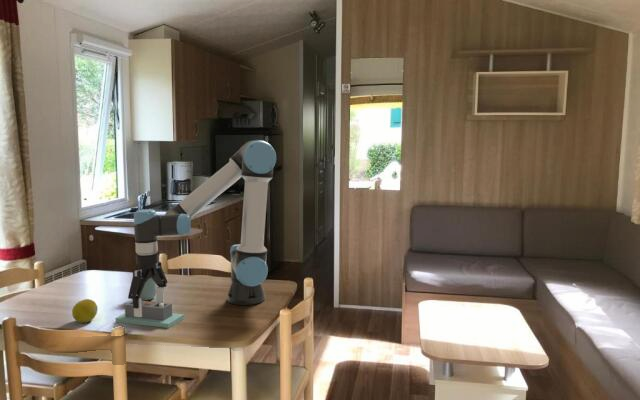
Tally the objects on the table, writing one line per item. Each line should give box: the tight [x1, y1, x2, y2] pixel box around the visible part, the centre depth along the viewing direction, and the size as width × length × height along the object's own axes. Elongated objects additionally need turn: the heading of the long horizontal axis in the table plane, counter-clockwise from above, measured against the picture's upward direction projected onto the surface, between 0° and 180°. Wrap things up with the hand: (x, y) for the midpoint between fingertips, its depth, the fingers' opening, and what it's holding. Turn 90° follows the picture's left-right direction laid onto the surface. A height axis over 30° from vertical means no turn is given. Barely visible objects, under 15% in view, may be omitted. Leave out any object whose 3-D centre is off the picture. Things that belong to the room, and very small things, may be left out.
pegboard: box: [115, 303, 185, 329], centre depth 188 cm, size 22×10×6 cm, turn 73°
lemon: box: [71, 298, 98, 324], centre depth 188 cm, size 11×8×8 cm
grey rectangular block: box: [124, 300, 173, 321], centre depth 188 cm, size 16×6×5 cm, turn 73°
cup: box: [140, 277, 158, 301], centre depth 212 cm, size 8×8×10 cm
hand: (149, 310), depth 188 cm, fingers open, 13 cm apart
